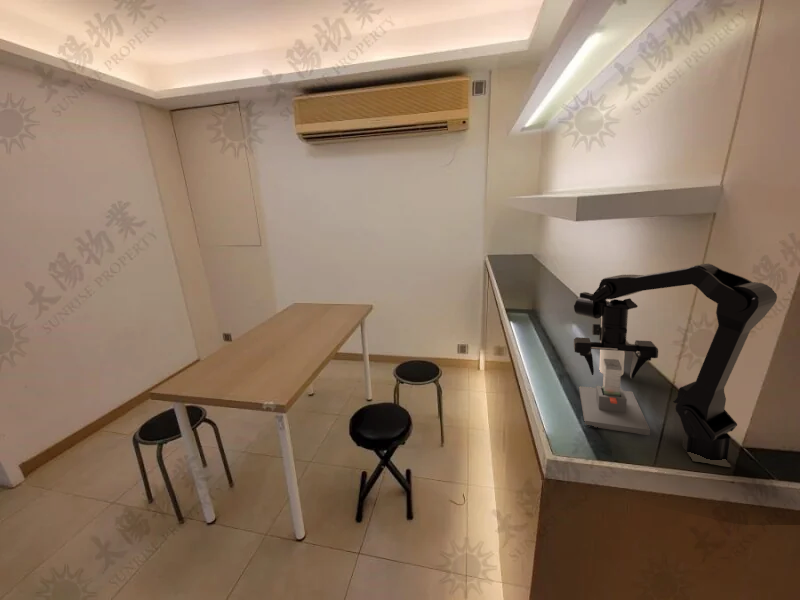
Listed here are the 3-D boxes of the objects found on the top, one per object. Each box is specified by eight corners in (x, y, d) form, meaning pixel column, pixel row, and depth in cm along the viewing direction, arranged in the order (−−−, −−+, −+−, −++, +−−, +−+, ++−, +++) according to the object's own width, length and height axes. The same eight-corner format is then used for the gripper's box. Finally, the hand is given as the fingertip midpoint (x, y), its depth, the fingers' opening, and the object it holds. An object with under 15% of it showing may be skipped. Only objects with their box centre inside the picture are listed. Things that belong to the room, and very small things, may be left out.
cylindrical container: (609, 366, 119) (612, 299, 114) (628, 373, 112) (632, 303, 107) (594, 370, 117) (597, 302, 112) (612, 378, 110) (616, 306, 105)
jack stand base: (632, 396, 98) (633, 379, 97) (649, 435, 80) (651, 415, 79) (579, 390, 104) (579, 374, 103) (585, 425, 86) (585, 406, 85)
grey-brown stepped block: (616, 390, 93) (618, 359, 91) (620, 398, 88) (621, 366, 86) (602, 388, 94) (603, 358, 92) (604, 396, 90) (606, 365, 88)
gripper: (649, 315, 90) (645, 367, 93) (573, 313, 98) (571, 361, 101) (661, 327, 80) (656, 385, 83) (575, 324, 88) (574, 377, 91)
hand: (611, 376), depth 90 cm, fingers open, 9 cm apart
